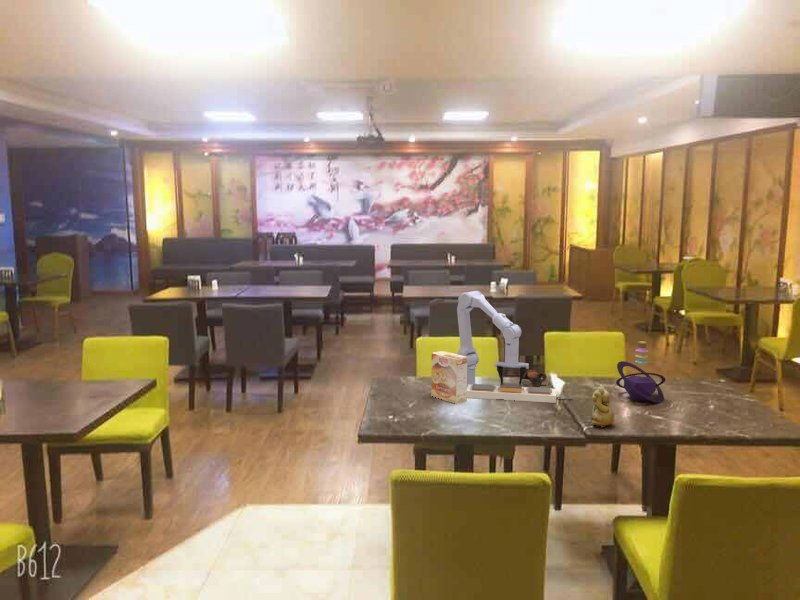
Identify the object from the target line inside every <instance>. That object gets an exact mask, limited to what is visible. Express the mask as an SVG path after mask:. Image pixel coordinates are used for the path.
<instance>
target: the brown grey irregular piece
mask: <svg viewBox="0 0 800 600" xmlns="http://www.w3.org/2000/svg"><path fill="white" fill-rule="evenodd" d="M542 376H543V378H542ZM547 377H548V376H547V375H546V373H545V372H537V370H536V369H526V372H525V373H524V376H523V378H522V380H527V381H528V380H529V382H527V387H541V384H542V383H543V382H545V381H546V379H547Z"/></svg>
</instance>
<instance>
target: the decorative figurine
mask: <svg viewBox="0 0 800 600" xmlns="http://www.w3.org/2000/svg"><path fill="white" fill-rule="evenodd" d="M591 399H592V400H593V402H594V403H595V404H594V405H593V406H592V410H591V411H592V412H591V423H592V426H593V425H596V426H595V427H599V426H601V427H600V428H603V427H605V426H606V425H607V426H608V425H611V424H614V422H615V412H614V409H613V407H612V406H611V405H610V399H611V394H610V392H608V391H607V389H606V387H605V386H604V385H603V384H601V383H600V384H599V386H598V387H597V389H596V390H595V391H593V393H592V397H591ZM607 426H606V427H607ZM606 427H605V428H606Z"/></svg>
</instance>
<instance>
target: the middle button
mask: <svg viewBox="0 0 800 600" xmlns="http://www.w3.org/2000/svg"><path fill="white" fill-rule="evenodd" d="M499 386H500V391H508V392H522V387H523V383H522V382H521V385H519V382H509V381H508V382H504V381H503V384H501V382H500V383H499Z"/></svg>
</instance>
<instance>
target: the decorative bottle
mask: <svg viewBox="0 0 800 600" xmlns="http://www.w3.org/2000/svg"><path fill="white" fill-rule="evenodd" d="M647 344H648V343H647V341H644V340H643V341H641V340H639V341H637V345H638V347H637V348H635V350H634V351H635V352H636V353H637V354H635V355H634V357H635V358H637V359H635V361H634V363H635V364H637V365H638V364H640V365H646V364H649V362H648V361H647V360H646V359H648V358H649V355H647V354H646V353H649V352H650V351H649V350H648V349H647ZM634 363H631V362H628V361H619V362H618V363H617V364H616V367H617V371H618V374H619V375H620V378H618V379H617V380H616V382H615V384H616V385H617V386H618V387H619V388H622V389H624V390H625V391H626V393H627V394H628V395H629V397H630V398H631V399H632V400H633V401H639V402H646V401H650V402H653V403H655V404H657V403H658V404H661V403H662V402H664V399H665V397H664V393H663V390H662V389H661V387H660V386H661V385H663V384H664V383H666V380H667V379H666V378H665V376H664V375H661V374H659V373H653V372H647V371H644V369H642V368H641V367H640V366H639V367H638V366H637V365H635V364H634ZM625 367H630V368H633V369H635V370H636V371H638V372H637V373H636V372H635V373H633V372H631V373H630V374H626V375H625V373H624V368H625ZM650 375H651V376H656V377H659V378H660V379H661V381H660V382H658V383H657V382H656V381H655V380H654V378H653V377H651V376H650ZM622 380H623V385H621V381H622ZM655 391H657V396H656V397H651V396H653V394H654V393H655Z"/></svg>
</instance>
